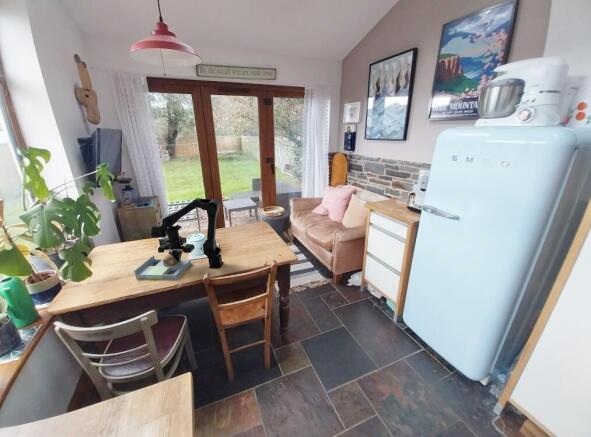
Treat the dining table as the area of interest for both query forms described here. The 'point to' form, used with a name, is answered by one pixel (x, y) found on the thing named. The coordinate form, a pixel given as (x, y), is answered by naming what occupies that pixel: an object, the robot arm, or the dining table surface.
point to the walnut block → (169, 260)
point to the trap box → (160, 269)
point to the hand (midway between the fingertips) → (179, 261)
